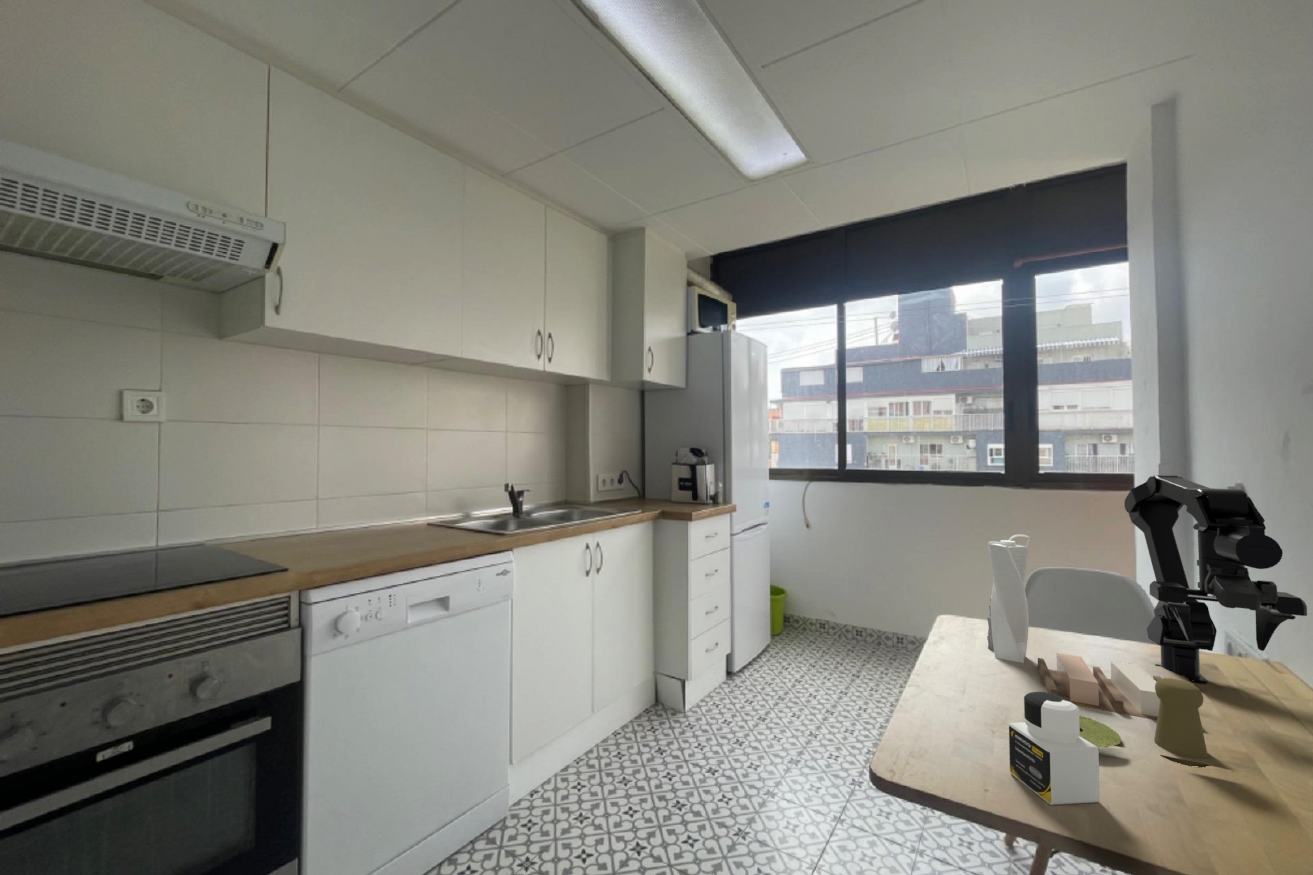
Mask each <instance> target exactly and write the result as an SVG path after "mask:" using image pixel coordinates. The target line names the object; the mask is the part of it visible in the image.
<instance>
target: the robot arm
mask: <svg viewBox="0 0 1313 875" xmlns="http://www.w3.org/2000/svg"><path fill="white" fill-rule="evenodd" d="M1123 503H1124V509H1125V511H1126V513H1127V514H1128V516H1129V519H1130V521H1131V523H1132V524H1133V525H1135V527H1137V529H1139V530H1140V531H1142V533H1143V535H1144V539H1145V543H1146V547H1147V551H1148V555H1149V558H1150V561H1151V565H1152V570H1153V573H1154V577H1155V579H1156V580H1153V581H1152V582H1150V584H1149V595H1150V596H1151V597H1153V598H1155V599H1156V600H1157V604H1156V605H1155V607H1154V609H1153V613H1154V617H1153V618H1152V619H1151V620H1150V623H1149V624H1148V626H1147V627H1146V633H1147V637H1148V639H1149V640H1150V641H1151V642H1153V643H1155V644H1156V645H1158V646H1160V664H1159V663H1157V664H1156V663H1155V664H1154V666H1155V667H1160V668H1162V669H1163V670H1164V669H1165V670H1166V671H1169V672H1171V673H1173V674H1177V675H1178V676H1183V677H1185V678H1186V679H1187V680H1188V681H1191V682H1197V683H1202V684H1203V683H1204V684H1208V683H1209V681H1208V679H1207V678H1205V677H1204V676H1203V675H1202V674H1201V665H1200V663H1201V662H1200V650H1204V651H1209V652H1212V651H1214V650H1213V649H1214V647H1215V641H1216V636H1217V632H1218V631H1217V628H1216V626H1215V623H1214V622H1213V619H1212V616H1211V614H1210V610H1209V606H1208V605H1207V604H1206V603H1205V602H1203V601H1206V602H1208V601H1209V602H1216V603H1219V604H1220V606H1222V607H1224V608H1227V609H1235V608H1237V609H1248V610H1250V611H1254V612H1255V639H1256V640H1255V641H1256V646H1257V650H1259V651H1261V652H1262V651H1265V650H1266V648H1267V646H1268V644H1269V642H1270V641H1271V638H1272V636H1273V635H1274V633H1275V631H1276V630H1277V629H1278V628H1279V626H1280V625H1281V624H1282V623H1283V622H1285V621H1287V620H1295V619H1296V616H1302V617H1306V616H1308V607H1307V604H1306V602H1305V600H1303V599H1302V598H1301V597H1298V596H1295V595H1293V594H1290V593H1288V592H1285V591H1278V586H1277V585H1276V583H1275V582H1274V581H1271V580H1252V579H1251V578H1250V576H1249V575H1250V572H1249V570H1248V569H1249V568H1253V569H1256V570H1257V569H1258V570H1265V569H1270V568H1273V567H1275V566H1277V565H1278V564H1279V562H1281V560H1282V558H1283V549H1282V548H1281V546H1280V544H1279V542H1278V541H1277V540H1275V539H1274V538H1273V537H1271V536H1269V535H1266V532H1265V530H1266V528H1267V527H1266V525H1265V518H1264V517H1263V515H1262V514H1261V513H1260V512H1259V510H1258V508H1257V507H1256V506H1255V504H1254V502H1253V500H1252V498H1251V497H1250V496H1248V494H1247V493H1246V492H1245V490H1243V489H1234V488H1232V489H1231V488H1212V487H1211V488H1210V487H1209V486H1205V485H1202V484H1199V483H1196V482H1193V481H1191V480H1187V479H1184V478H1183V477H1182V476H1178V475H1171V474H1170V475H1167V474H1164V475H1163V474H1161V475H1159V474H1158V475H1156V474H1154V475H1152V476H1149V477H1148V478H1147V480H1146V481H1145V482H1144V483H1141V484H1139V485H1136V486H1134V487H1133V488H1131V489H1130V491H1129V492H1128V494H1127V496H1126V497H1125V499H1124V502H1123ZM1183 506H1186V512H1187V514H1190V515H1191V516H1192V517H1193V518H1194V520H1195V521H1196V523H1195V524H1193V527H1192V528H1193V529H1194V530H1197V548H1198V559H1196V566H1197V567H1198V575H1199V577H1198V578H1199V581H1197V588H1199V589H1195V588H1190V586H1189V582H1188V579H1187V575H1186V571H1185V569H1184V568H1185V567H1184V565H1183V560H1182V557H1181V554H1180V551H1179V547H1178V544H1177V540H1176V536H1175V534H1174V530H1173V528H1174V527H1175V525H1176V522H1177V521H1178V519H1179V517H1180V514H1179V511H1180V510H1181V509H1182V507H1183ZM1201 601H1202V602H1201Z"/></svg>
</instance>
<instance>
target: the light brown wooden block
mask: <svg viewBox="0 0 1313 875" xmlns="http://www.w3.org/2000/svg"><path fill="white" fill-rule="evenodd" d="M1056 671H1057V674H1058V676H1059V678H1060V680H1061V682H1062V684H1063V686H1064V689H1065V691H1066V693H1067V695H1068V697H1069V699H1070V701H1074V702H1080V703H1085V704H1091V705H1096V706H1099V690H1098V682H1097V680H1096V678H1095V677H1094V675H1093V671H1091V669H1090V667H1089V666H1088V664H1087V663H1086V661H1085V660H1084V659H1083V656H1079V655H1071V654H1067V653H1066V654H1065V653H1060V652H1059V653H1058V652H1056Z"/></svg>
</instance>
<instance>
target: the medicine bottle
mask: <svg viewBox="0 0 1313 875" xmlns="http://www.w3.org/2000/svg"><path fill="white" fill-rule="evenodd" d="M1023 709H1024V710H1023V711H1024V712H1023V713H1024V714H1023V716H1024V721H1023V722H1010V723H1009V724H1008V741H1009V743H1008V746H1009V747H1008V748H1009V749H1008V750H1009V752H1008V753H1009V773H1010V774H1011V775H1012V776H1014V778H1016V779H1017V780H1018V781H1020V783H1022V784H1023V785H1025V787H1027V788H1029V789H1030V790H1031V791H1033V793H1034V794H1036V795H1037V796H1039V797H1040V798H1041V799H1042V800H1043V801H1045V803H1047V804H1049V805H1050V806H1054V805H1072V804H1074V805H1075V804H1089V803H1091V804H1092V803H1100V801H1101V798H1100V796H1101V795H1100V792H1101V790H1100V788H1101V787H1100V764H1099V762H1100V757H1099V747H1098V746H1095V745H1093V744H1092V743H1090V742H1088V741H1087V740H1085V739H1083V738H1082V737H1080V726H1079V715H1080V708H1079V706H1078V705H1075V704H1074V703H1073V702H1072V701H1070V700H1068V699H1066V698H1064V697H1062V696H1059V695H1056V694H1053V693H1048V692H1047V691H1032V692H1028V693H1026V694H1025V695H1024V697H1023Z"/></svg>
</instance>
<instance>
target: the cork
mask: <svg viewBox="0 0 1313 875" xmlns="http://www.w3.org/2000/svg"><path fill="white" fill-rule="evenodd" d="M1161 678H1162V677H1161ZM1155 691H1156V694H1157V696H1158V698H1159V699H1160V705H1159V712H1158V718H1157V720H1156V725H1155V726H1156V727H1155V732H1154V740H1153V741H1154V743H1155V745H1157V746H1158V747H1159V748H1161V749H1163V750H1165V751H1166V752H1169V753H1173V754H1174V755H1177V756H1181V757H1185V758H1189V759H1190V758H1191V759H1198V760H1199V759H1200V760H1201V759H1207V757H1208V756H1209V755H1208V750H1207V749H1208V748H1207V744H1206V741H1205V740H1206V739H1205V736H1204V730H1203V725H1202V721H1201V716H1200V712H1199V711H1200V710H1199V709H1200V708H1201V707H1202V706H1203V703H1204V695H1203V693H1202V691H1201V689H1199V687H1198V686H1196V685H1195V684H1193V683H1191V682H1188V681H1185V680H1181V679H1177V678H1171V677H1163V678H1162V679H1159V680H1158V681H1157V682H1156V684H1155ZM1159 755H1160V757H1163V758H1164V759H1166V760H1168V761H1171V762H1174V763H1176V762H1177V763H1176V764H1179V763H1180V765H1184V766H1186V765H1187V767H1192V766H1198V767H1197V768H1202V767H1204V768H1207V767H1206V766H1208V767H1209V766H1210V764H1207V763H1201V762H1197V761H1192V760H1188V759H1182V758H1178V757H1173V756H1169V755H1168V756H1167V755H1163V754H1159Z"/></svg>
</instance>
